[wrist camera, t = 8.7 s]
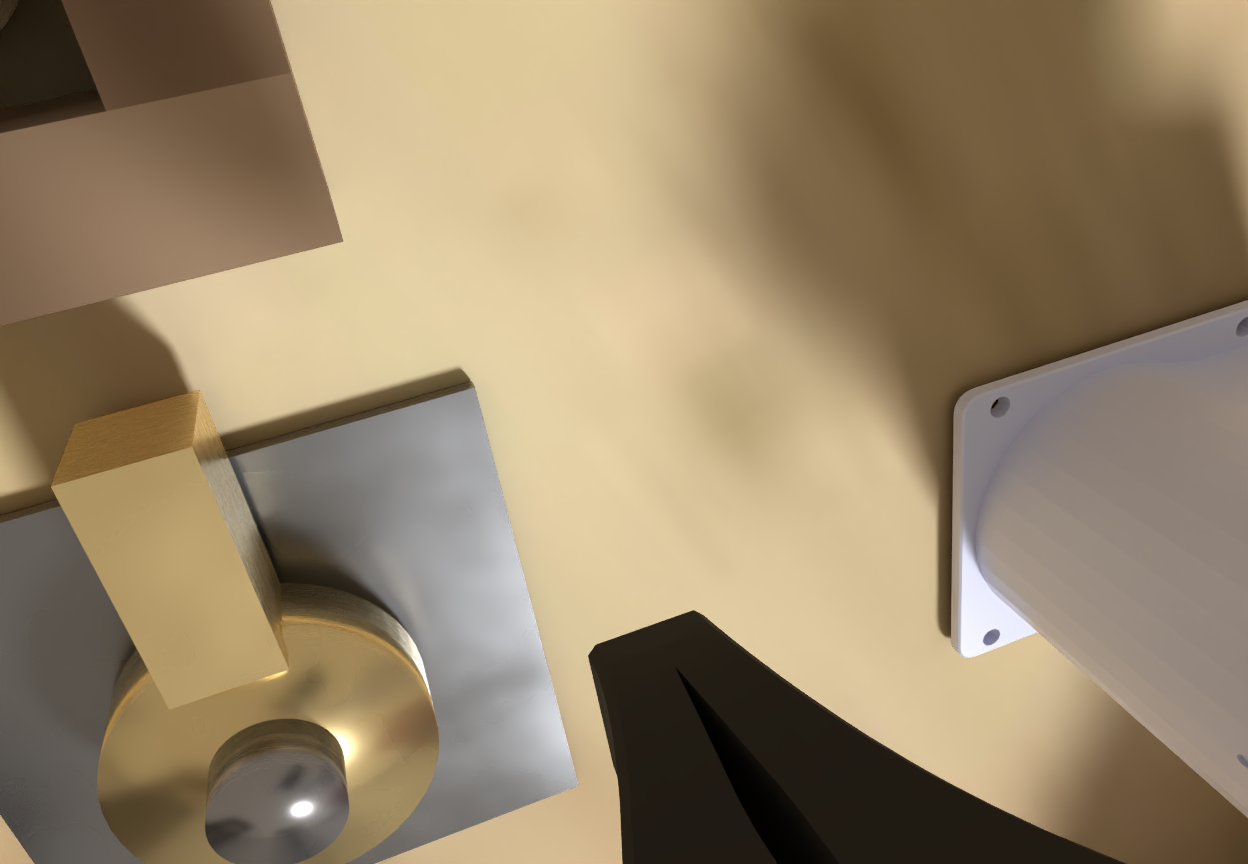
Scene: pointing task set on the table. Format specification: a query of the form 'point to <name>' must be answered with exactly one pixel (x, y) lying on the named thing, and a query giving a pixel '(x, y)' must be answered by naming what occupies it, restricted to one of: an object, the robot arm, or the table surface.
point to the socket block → (158, 158)
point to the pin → (6, 10)
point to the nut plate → (318, 555)
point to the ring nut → (235, 664)
